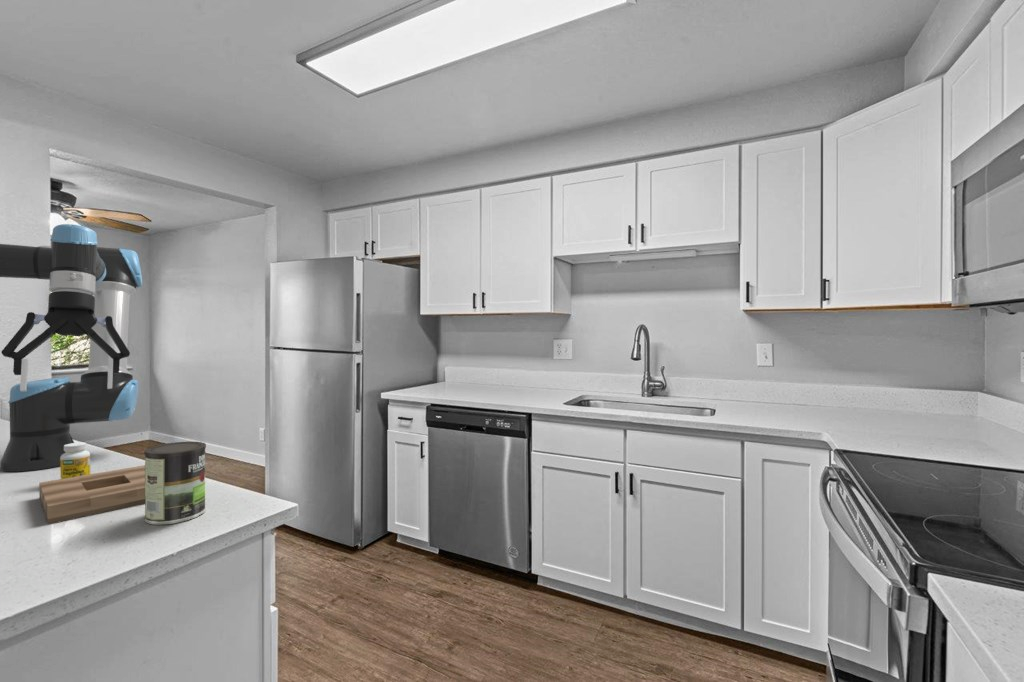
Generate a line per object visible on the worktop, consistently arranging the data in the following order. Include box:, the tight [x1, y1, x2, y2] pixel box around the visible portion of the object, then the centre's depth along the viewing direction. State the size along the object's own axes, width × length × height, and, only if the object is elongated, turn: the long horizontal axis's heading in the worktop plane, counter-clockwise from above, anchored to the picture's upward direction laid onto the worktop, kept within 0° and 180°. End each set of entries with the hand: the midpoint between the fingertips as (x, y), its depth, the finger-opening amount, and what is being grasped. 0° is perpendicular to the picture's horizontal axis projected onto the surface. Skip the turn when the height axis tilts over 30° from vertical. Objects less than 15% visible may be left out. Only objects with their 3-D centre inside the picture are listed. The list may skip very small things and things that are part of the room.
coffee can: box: [143, 441, 207, 526], centre depth 97 cm, size 10×10×14 cm
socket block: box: [38, 464, 145, 525], centre depth 106 cm, size 20×20×4 cm
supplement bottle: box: [59, 442, 92, 479], centre depth 115 cm, size 5×5×10 cm
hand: (68, 389), depth 102 cm, fingers open, 13 cm apart
